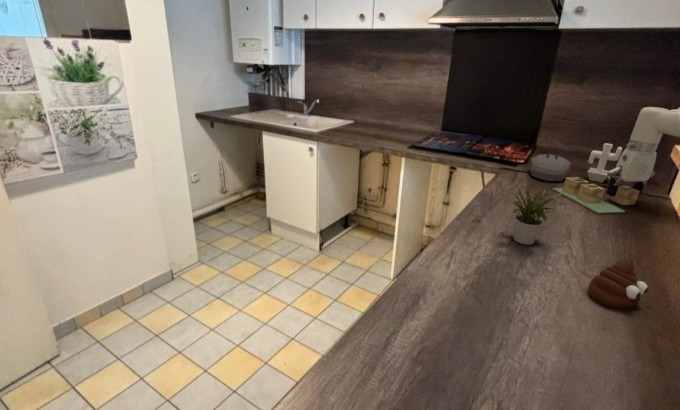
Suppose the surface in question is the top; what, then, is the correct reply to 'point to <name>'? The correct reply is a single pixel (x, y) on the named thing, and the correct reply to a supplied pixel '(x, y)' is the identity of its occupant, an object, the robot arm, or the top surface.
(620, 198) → the letter T
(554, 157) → the small grey backpack
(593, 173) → the figurine
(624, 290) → the poop emoji
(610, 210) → the word mat
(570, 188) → the letter L
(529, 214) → the house plant
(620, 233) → the top surface
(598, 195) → the letter I
